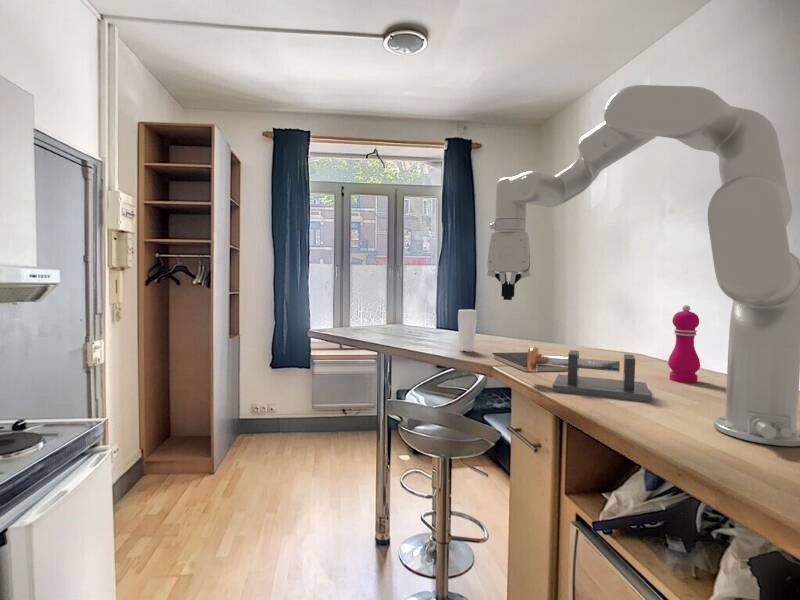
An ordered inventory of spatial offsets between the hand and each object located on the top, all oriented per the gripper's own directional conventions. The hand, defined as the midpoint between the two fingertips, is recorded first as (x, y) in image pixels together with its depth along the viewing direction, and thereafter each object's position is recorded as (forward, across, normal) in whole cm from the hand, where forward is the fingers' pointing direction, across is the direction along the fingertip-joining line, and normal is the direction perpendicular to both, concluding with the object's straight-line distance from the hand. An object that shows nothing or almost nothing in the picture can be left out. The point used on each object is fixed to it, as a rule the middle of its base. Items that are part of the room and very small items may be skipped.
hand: (507, 299), depth 116 cm
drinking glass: (+21, -22, +43) cm, 53 cm away
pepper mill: (+21, +42, +23) cm, 52 cm away
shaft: (+18, +16, 0) cm, 24 cm away
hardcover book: (+22, +2, +28) cm, 35 cm away
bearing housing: (+21, +22, 0) cm, 31 cm away
